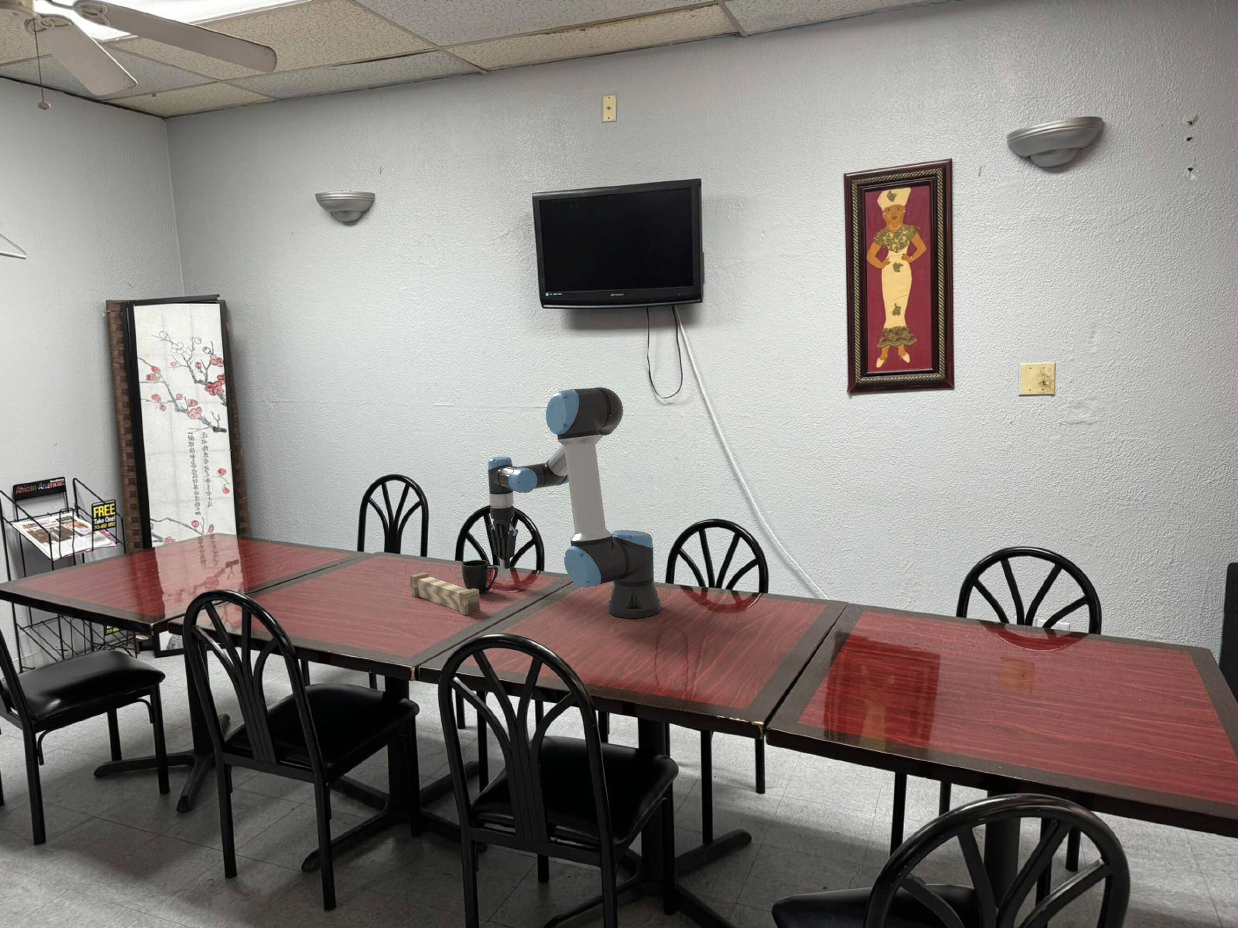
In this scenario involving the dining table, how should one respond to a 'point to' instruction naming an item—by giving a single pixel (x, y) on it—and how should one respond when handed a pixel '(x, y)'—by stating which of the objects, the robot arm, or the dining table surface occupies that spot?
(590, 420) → the robot arm
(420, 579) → the batten
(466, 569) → the mug
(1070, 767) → the dining table surface
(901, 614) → the dining table surface
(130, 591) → the dining table surface
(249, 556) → the dining table surface
